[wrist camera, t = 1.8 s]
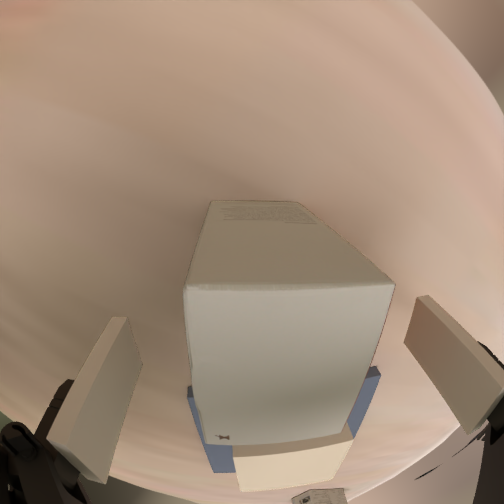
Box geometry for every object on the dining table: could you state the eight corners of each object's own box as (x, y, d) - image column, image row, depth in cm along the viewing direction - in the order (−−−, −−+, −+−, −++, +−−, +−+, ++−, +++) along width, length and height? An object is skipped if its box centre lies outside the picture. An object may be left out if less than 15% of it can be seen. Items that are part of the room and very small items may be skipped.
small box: (291, 299, 22) (343, 436, 10) (212, 300, 22) (202, 447, 10) (300, 199, 19) (401, 281, 7) (209, 198, 19) (174, 287, 7)
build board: (213, 465, 32) (213, 499, 26) (188, 386, 25) (182, 438, 19) (341, 449, 33) (352, 481, 27) (375, 366, 26) (400, 408, 20)
